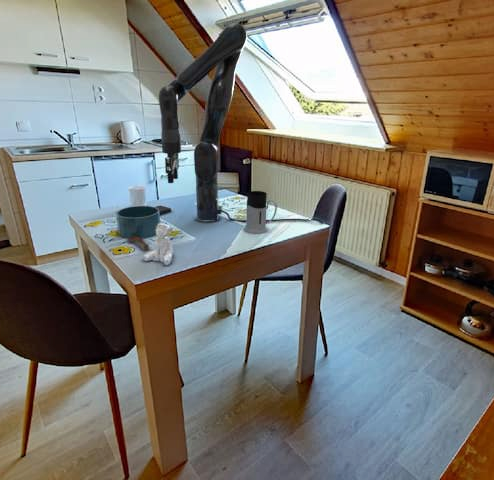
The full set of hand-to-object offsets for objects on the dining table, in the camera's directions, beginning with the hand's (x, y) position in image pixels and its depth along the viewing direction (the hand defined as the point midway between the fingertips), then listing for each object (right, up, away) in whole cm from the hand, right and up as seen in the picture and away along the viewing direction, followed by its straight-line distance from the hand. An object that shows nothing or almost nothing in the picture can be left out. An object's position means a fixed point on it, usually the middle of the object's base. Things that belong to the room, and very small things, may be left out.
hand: (173, 180), depth 144 cm
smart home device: (-13, -14, +13) cm, 23 cm away
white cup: (-20, -9, +23) cm, 32 cm away
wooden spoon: (-9, -26, -20) cm, 34 cm away
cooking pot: (-12, -21, -7) cm, 25 cm away
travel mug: (+36, -21, -6) cm, 42 cm away
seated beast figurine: (+2, -31, -31) cm, 44 cm away
